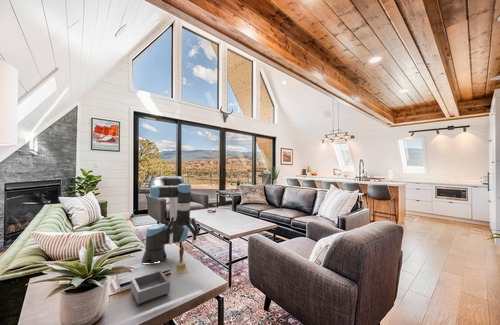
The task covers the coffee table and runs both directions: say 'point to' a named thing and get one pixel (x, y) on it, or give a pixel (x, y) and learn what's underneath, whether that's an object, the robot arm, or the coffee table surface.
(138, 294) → the grey footed planter box
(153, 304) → the coffee table surface
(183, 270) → the hand bell
